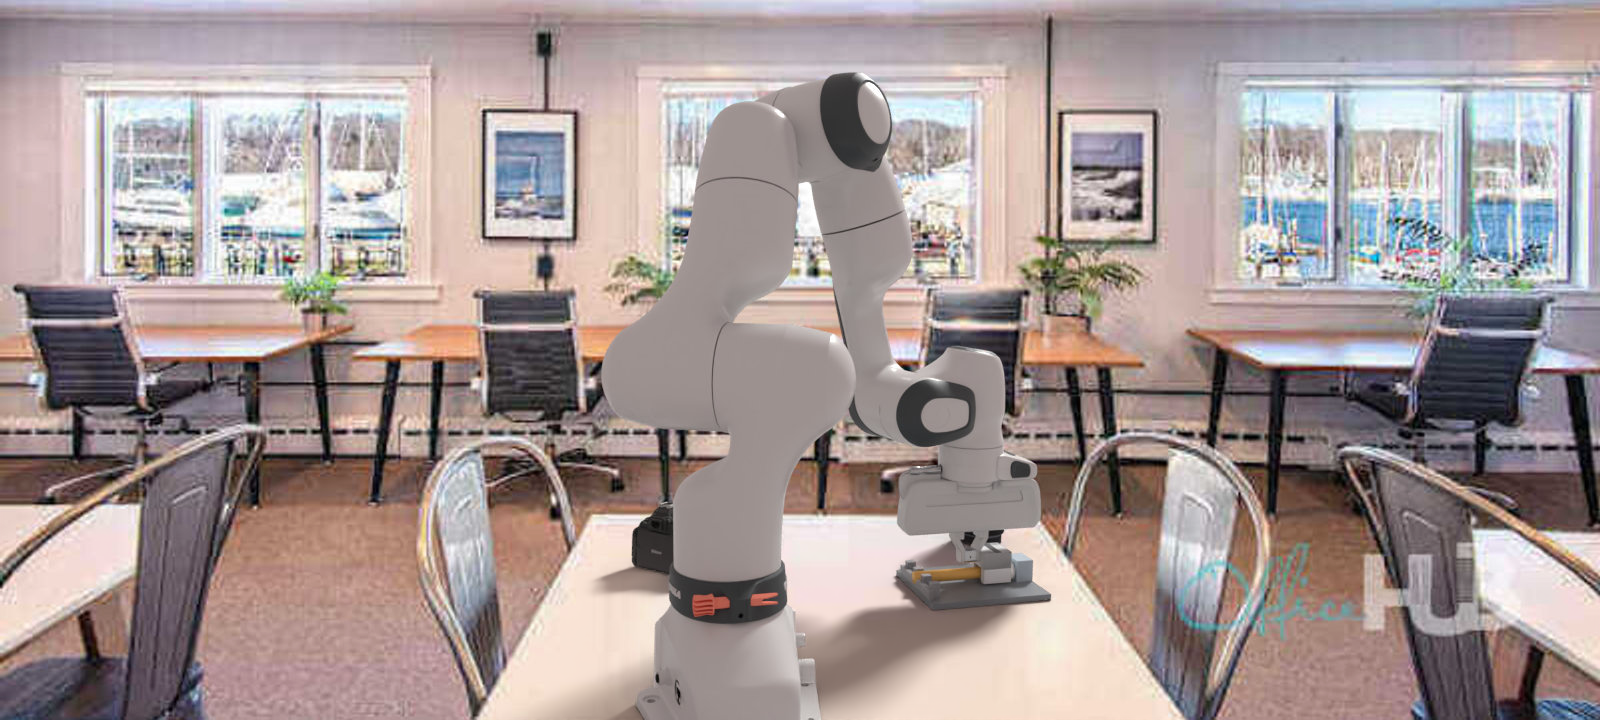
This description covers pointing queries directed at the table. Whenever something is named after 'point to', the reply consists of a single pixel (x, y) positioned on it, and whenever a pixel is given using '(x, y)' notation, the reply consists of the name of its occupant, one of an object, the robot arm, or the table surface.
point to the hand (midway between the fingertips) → (967, 561)
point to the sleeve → (994, 563)
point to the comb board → (971, 585)
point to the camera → (654, 540)
